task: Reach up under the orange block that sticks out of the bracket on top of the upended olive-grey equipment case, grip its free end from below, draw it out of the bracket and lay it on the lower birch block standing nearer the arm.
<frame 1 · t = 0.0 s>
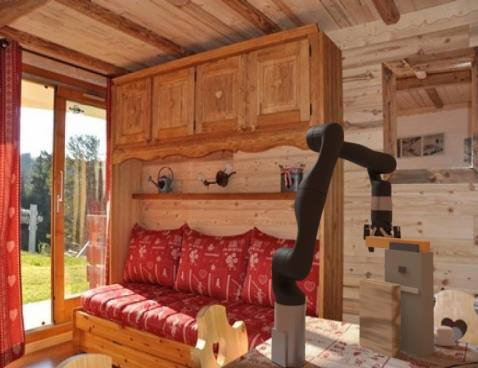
hand: (381, 253, 143), 29 cm above the table, tool pointing down, fingers open, 8 cm apart
orange block: (395, 249, 132), point 32 cm above the table, touching case
case: (408, 349, 127), on the table
power adapter: (435, 344, 132), on the table
birch block: (379, 349, 126), on the table
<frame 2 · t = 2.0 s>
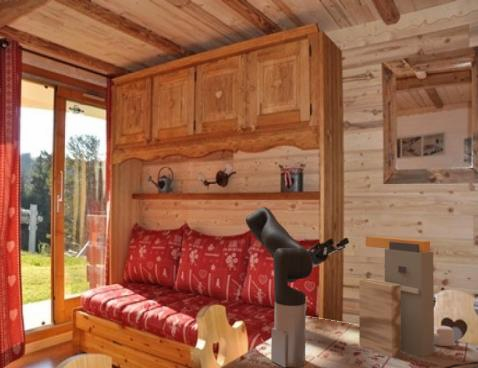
hand: (340, 240, 150), 33 cm above the table, tool pointing upward, fingers open, 8 cm apart
nothing on the table moved.
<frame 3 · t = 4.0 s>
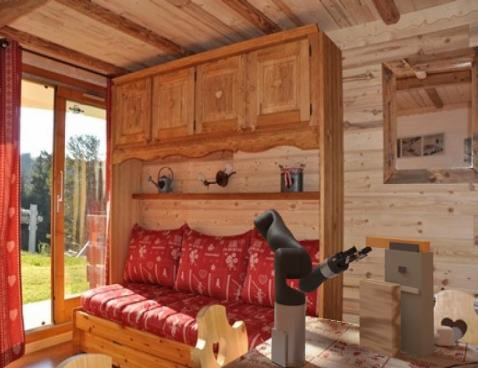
hand: (363, 248, 143), 31 cm above the table, tool pointing upward, fingers open, 8 cm apart
nothing on the table moved.
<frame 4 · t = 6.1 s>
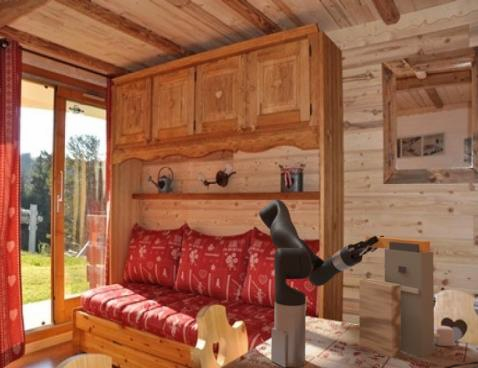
hand: (380, 238, 138), 35 cm above the table, tool pointing upward, fingers closed on orange block, 3 cm apart
orange block: (395, 249, 132), point 32 cm above the table, touching case, gripper
everything else where it was.
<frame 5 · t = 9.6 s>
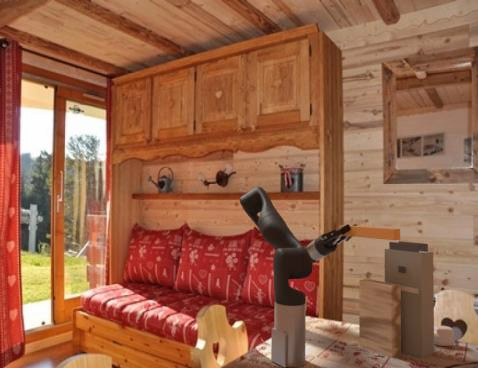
hand: (353, 226, 137), 39 cm above the table, tool pointing upward, fingers closed on orange block, 3 cm apart
orange block: (367, 237, 132), point 36 cm above the table, touching gripper
everything else where it was.
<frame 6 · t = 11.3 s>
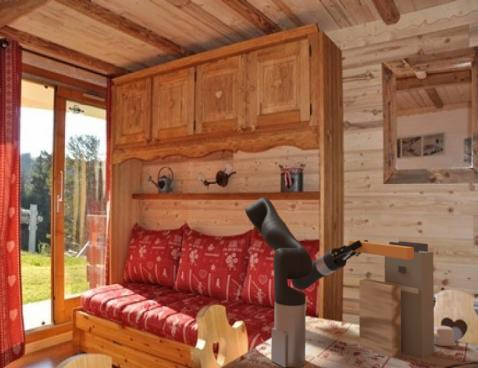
hand: (364, 242, 133), 34 cm above the table, tool pointing upward, fingers closed on orange block, 3 cm apart
orange block: (379, 254, 128), point 31 cm above the table, touching gripper
everything else where it was.
when the fingers open (26 cm above the table, at t = 13.0 s): orange block drops 1 cm, resting on birch block.
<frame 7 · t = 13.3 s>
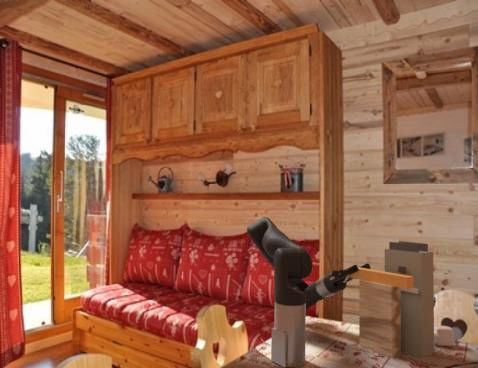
hand: (363, 266, 133), 26 cm above the table, tool pointing upward, fingers open, 6 cm apart
orange block: (379, 282, 127), point 21 cm above the table, touching birch block
everything else where it was.
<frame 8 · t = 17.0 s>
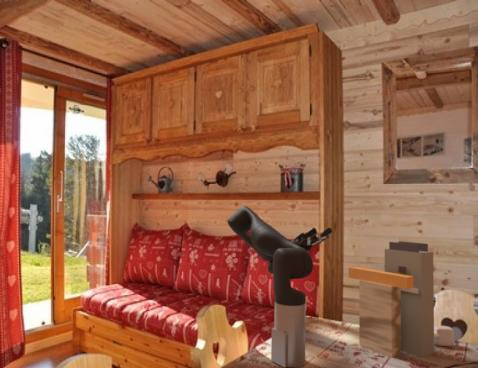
hand: (323, 230, 152), 37 cm above the table, tool pointing upward, fingers open, 8 cm apart
nothing on the table moved.
at the end: orange block inside the target area (0.1 cm from its centre), point 21.5 cm above the table; orange block touching birch block; the gripper is holding nothing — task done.
